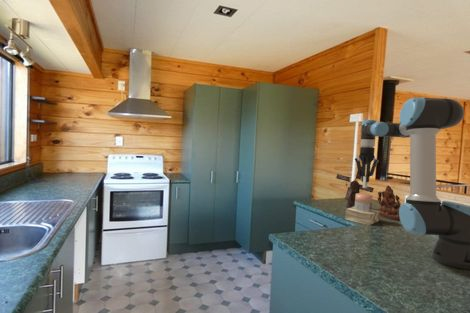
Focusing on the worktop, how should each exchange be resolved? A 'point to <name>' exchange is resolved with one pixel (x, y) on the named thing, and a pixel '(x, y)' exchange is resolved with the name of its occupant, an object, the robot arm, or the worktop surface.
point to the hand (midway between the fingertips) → (364, 187)
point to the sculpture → (389, 204)
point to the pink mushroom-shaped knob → (363, 198)
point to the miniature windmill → (353, 189)
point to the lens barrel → (363, 206)
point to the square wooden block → (362, 216)
